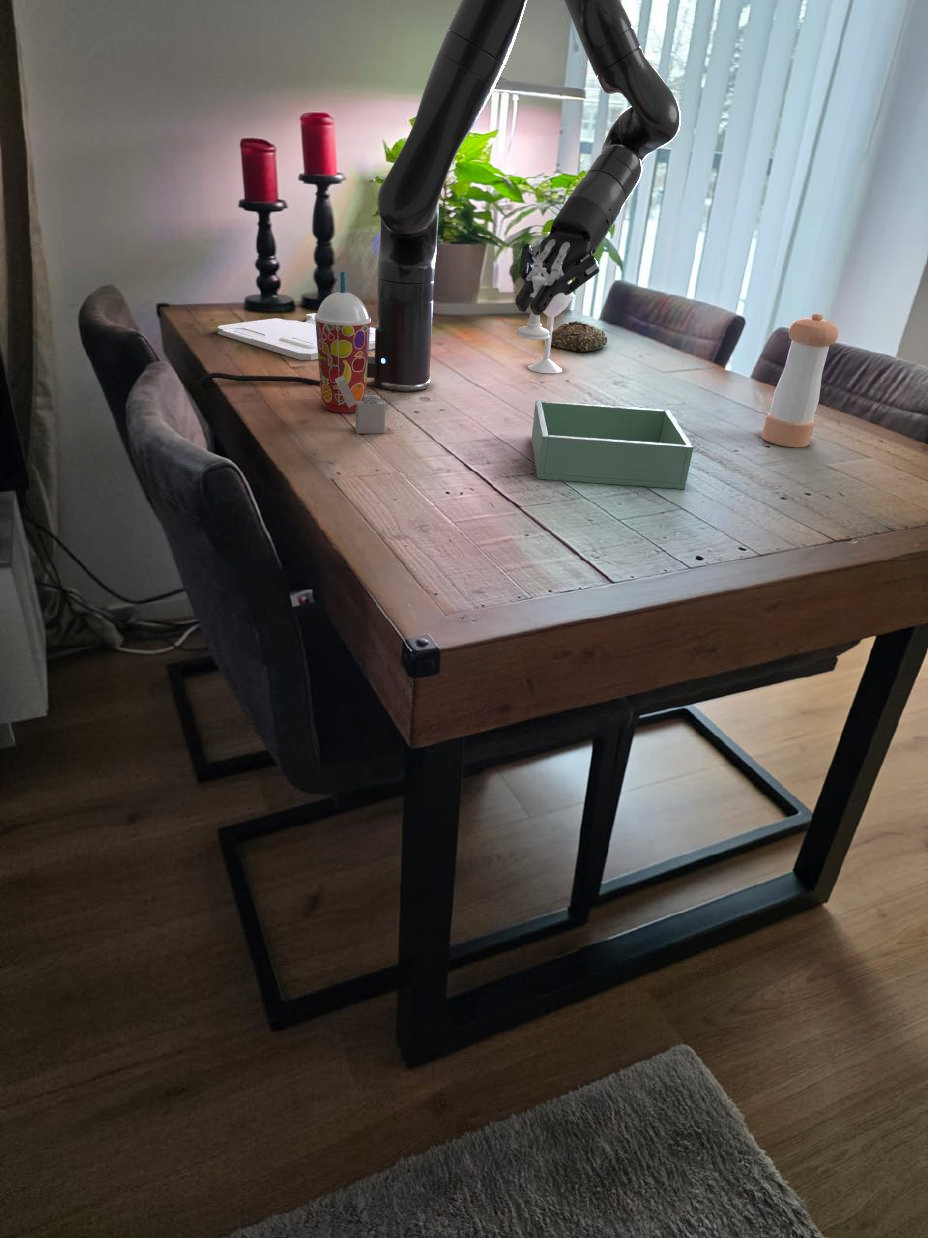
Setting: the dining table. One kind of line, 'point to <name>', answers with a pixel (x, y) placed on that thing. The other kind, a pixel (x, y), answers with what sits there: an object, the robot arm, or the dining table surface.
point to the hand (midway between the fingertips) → (527, 309)
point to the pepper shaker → (800, 383)
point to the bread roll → (578, 337)
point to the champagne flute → (551, 311)
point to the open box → (609, 445)
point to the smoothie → (342, 347)
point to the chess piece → (534, 324)
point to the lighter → (365, 409)
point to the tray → (282, 336)
